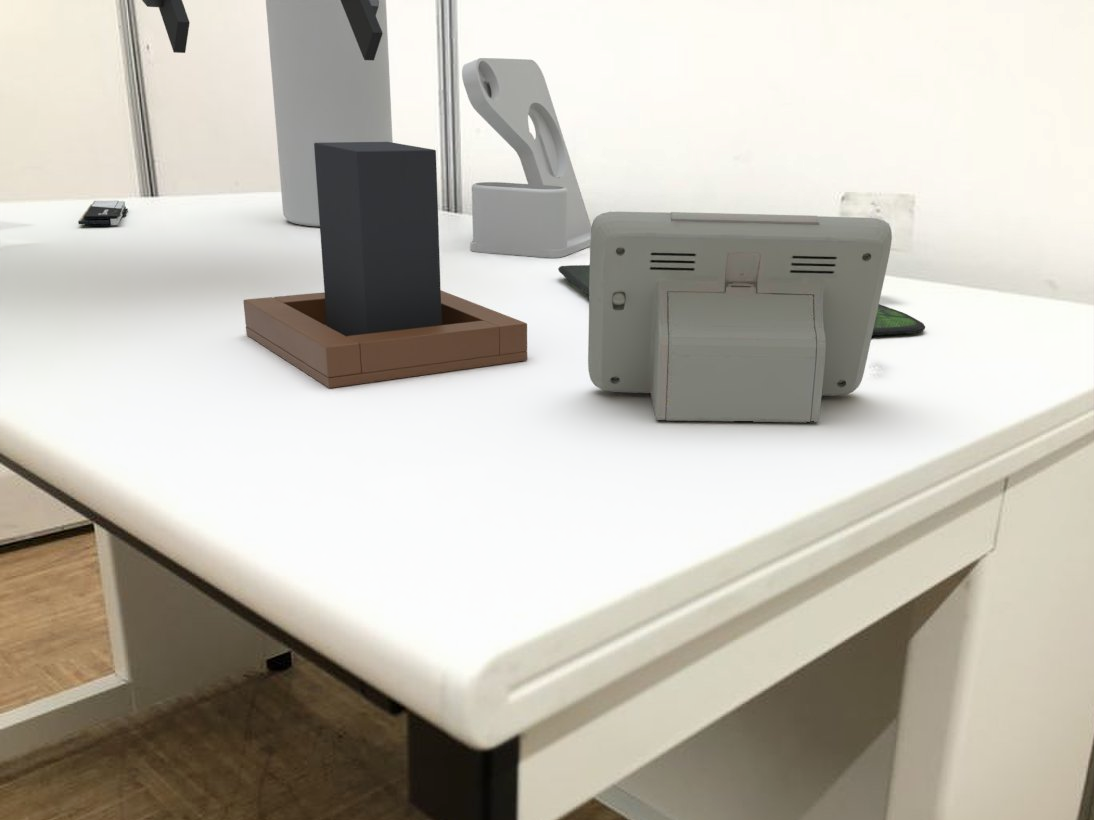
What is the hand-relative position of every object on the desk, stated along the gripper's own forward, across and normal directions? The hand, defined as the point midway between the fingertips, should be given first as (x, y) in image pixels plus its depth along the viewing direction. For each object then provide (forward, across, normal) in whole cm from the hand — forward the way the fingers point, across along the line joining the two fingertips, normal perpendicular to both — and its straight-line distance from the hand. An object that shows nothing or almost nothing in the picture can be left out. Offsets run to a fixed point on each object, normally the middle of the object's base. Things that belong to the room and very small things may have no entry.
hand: (282, 43), depth 78 cm
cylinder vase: (-16, -19, -43) cm, 50 cm away
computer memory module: (-24, +4, -51) cm, 57 cm away
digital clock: (+39, -12, +13) cm, 43 cm away
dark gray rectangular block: (+24, 0, -1) cm, 24 cm away
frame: (+25, 0, -1) cm, 25 cm away
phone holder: (0, -32, -26) cm, 41 cm away
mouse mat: (+24, -30, -2) cm, 38 cm away
